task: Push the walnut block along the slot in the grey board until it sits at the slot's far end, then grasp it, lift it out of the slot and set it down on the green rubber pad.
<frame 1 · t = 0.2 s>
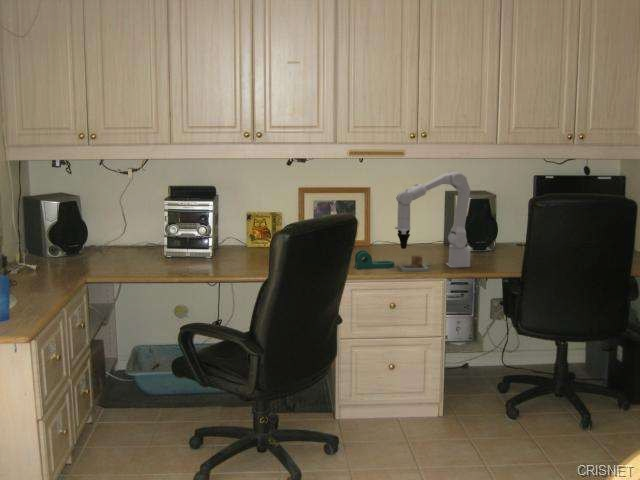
hand: (403, 247, 319), 10 cm above the table, tool pointing down, fingers open, 7 cm apart
green pad: (423, 264, 327), on the table
bracket: (375, 267, 323), on the table
slot board: (413, 269, 318), on the table
walnut block: (416, 269, 318), resting in slot board
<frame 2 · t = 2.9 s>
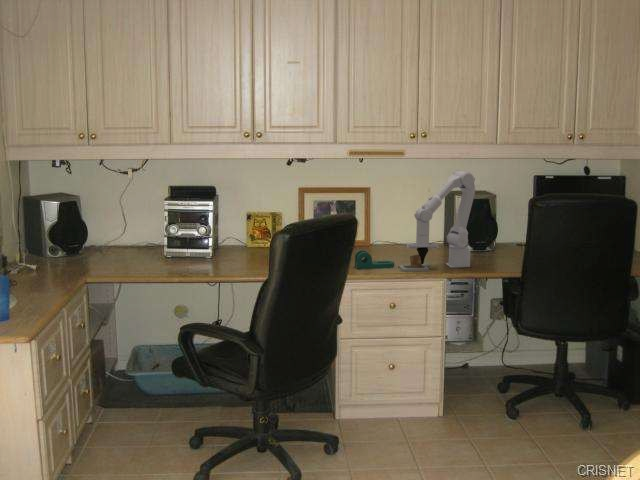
hand: (421, 263, 318), 2 cm above the table, tool pointing down, fingers closed
walnut block: (416, 268, 318), resting in slot board, tilted 10°
everything else where it was.
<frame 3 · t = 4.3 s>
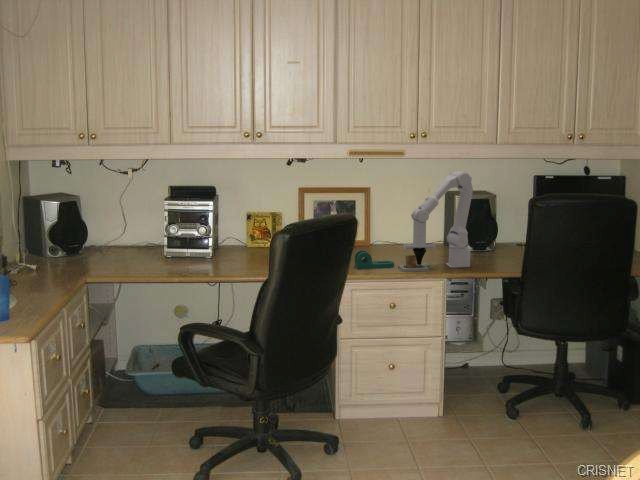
hand: (419, 264, 318), 2 cm above the table, tool pointing down, fingers closed
walnut block: (411, 269, 318), resting in slot board, touching gripper
everything else where it was.
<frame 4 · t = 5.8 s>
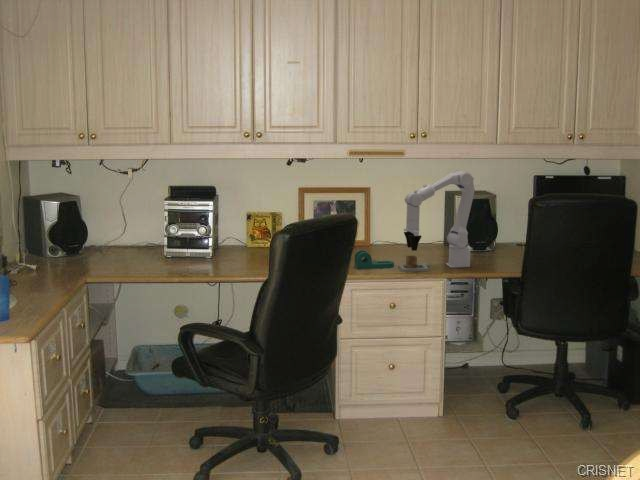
hand: (412, 248, 316), 10 cm above the table, tool pointing down, fingers open, 7 cm apart
walnut block: (411, 269, 318), resting in slot board
everything else where it was.
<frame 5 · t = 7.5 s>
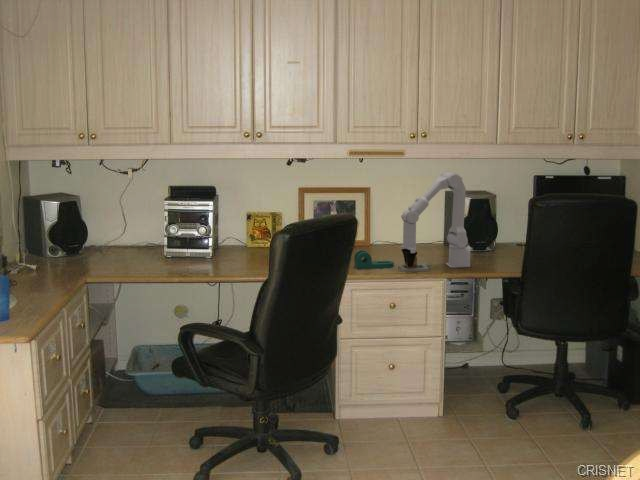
hand: (408, 265, 318), 2 cm above the table, tool pointing down, fingers closed on walnut block, 4 cm apart
walnut block: (411, 269, 318), resting in slot board, touching gripper
everything else where it was.
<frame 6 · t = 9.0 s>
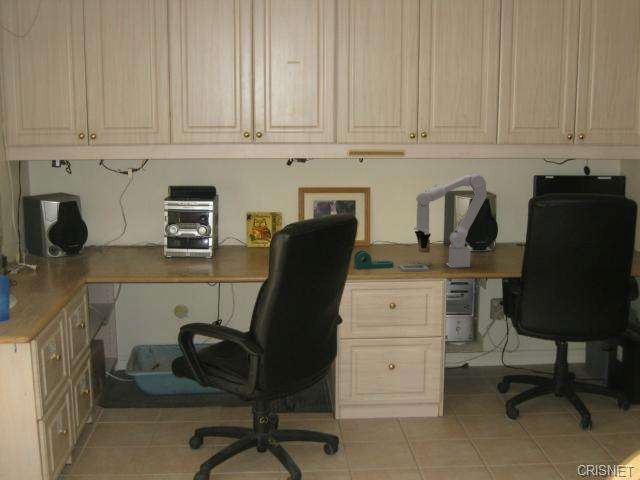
hand: (422, 247, 324), 9 cm above the table, tool pointing down, fingers closed on walnut block, 4 cm apart
walnut block: (424, 251, 324), point 7 cm above the table, touching gripper
everything else where it was.
when the fingers open (3 cm above the table, at t = 10.7 s): walnut block stays where it is, resting on green pad.
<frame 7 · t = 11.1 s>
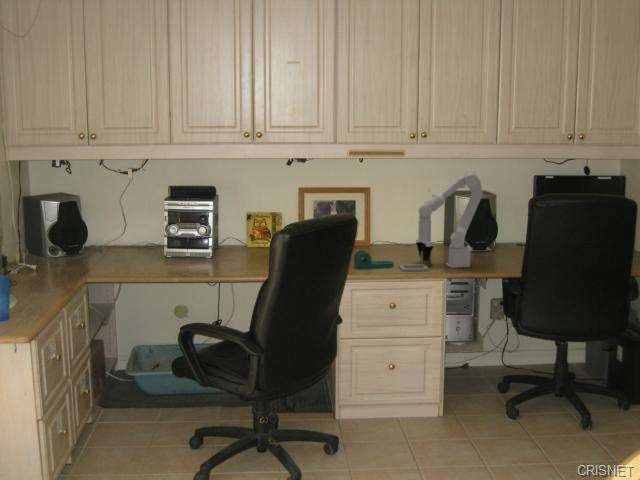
hand: (424, 258, 326), 3 cm above the table, tool pointing down, fingers open, 7 cm apart
walnut block: (425, 264, 327), resting on green pad
everything else where it was.
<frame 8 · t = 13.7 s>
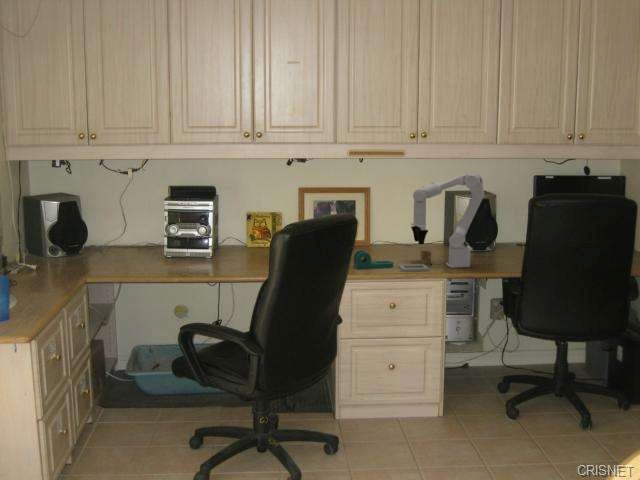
hand: (419, 242, 329), 10 cm above the table, tool pointing down, fingers open, 7 cm apart
nothing on the table moved.
at the end: walnut block 0.8 cm off-centre on the green pad, point 0.4 cm above the green pad's base; walnut block tilted 0°; the gripper is holding nothing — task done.
